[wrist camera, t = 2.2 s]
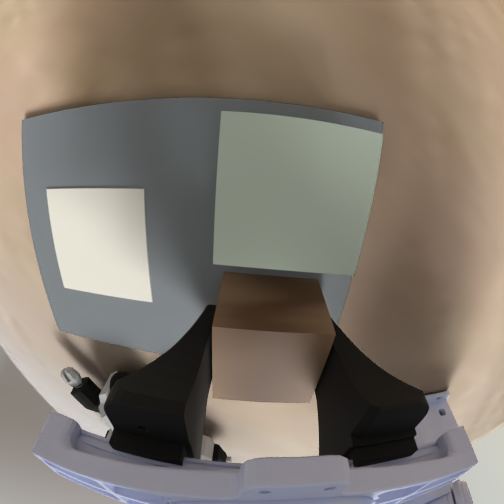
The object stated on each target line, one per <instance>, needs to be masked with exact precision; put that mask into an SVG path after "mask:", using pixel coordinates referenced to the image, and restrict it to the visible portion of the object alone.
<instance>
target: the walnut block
mask: <svg viewBox="0 0 504 504" xmlns="http://www.w3.org/2000/svg"><path fill="white" fill-rule="evenodd" d="M335 335H336V333H335V330H334V326H333V323H332V320H331V317H330V314H329V311H328V308H327V305H326V302H325V299H324V296H323V293H322V290H321V287H320V284H319V281H318V279H309V278H296V277H283V276H271V275H259V274H247V273H236V272H225V271H224V273H223V278H222V282H221V287H220V292H219V296H218V301H217V306H216V310H215V315H214V320H213V324H212V383H213V398H219V399H229V400H240V401H255V402H279V403H309V402H310V400H311V398H312V395H313V393H314V391H315V388H316V386H317V383H318V381H319V378H320V376H321V373H322V371H323V368H324V366H325V363H326V360H327V358H328V355H329V352H330V350H331V347H332V344H333V341H334V338H335Z"/></svg>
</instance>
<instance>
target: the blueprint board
mask: <svg viewBox="0 0 504 504" xmlns="http://www.w3.org/2000/svg"><path fill="white" fill-rule="evenodd" d="M221 111H233V112H248V113H260V114H271V115H280V116H288V117H296V118H303V119H310V120H316V121H322V122H328V123H333V124H339V125H344V126H349V127H354V128H358V129H363V130H367V131H372V132H376V133H380V134H382V128H383V122H381V121H377V120H373V119H369V118H365V117H361V116H356V115H352V114H347V113H342V112H337V111H332V110H327V109H321V108H315V107H309V106H302V105H295V104H287V103H279V102H270V101H259V100H247V99H230V98H160V99H143V100H131V101H121V102H112V103H104V104H97V105H90V106H84V107H78V108H72V109H67V110H62V111H57V112H52V113H48V114H44V115H40V116H36V117H32V118H28V119H24V120H22V160H23V176H24V186H25V196H26V203H27V211H28V217H29V223H30V229H31V234H32V239H33V244H34V249H35V253H36V257H37V261H38V265H39V269H40V273H41V277H42V280H43V284H44V287H45V291H46V294H47V297H48V300H49V303H50V306H51V309H52V312H53V315H54V318H55V321H56V323H57V326H58V329H59V331H63V332H66V333H70V334H74V335H77V336H81V337H85V338H89V339H93V340H97V341H101V342H106V343H110V344H114V345H119V346H124V347H129V348H134V349H139V350H144V351H150V352H155V353H161V354H164V353H165V352H166V351H168V350H169V349H170V348H171V347H172V346H173V345H175V344H176V343H177V342H178V341H179V340H180V339H181V338H182V337H183V336H184V334H185V333H186V332H187V331H188V330H189V329H190V328H191V327H192V325H193V324H194V323H195V322H196V320H197V319H198V318H199V316H200V315H201V314H202V312H203V311H204V309H205V307H206V306H207V305H209V304H210V305H217V301H218V296H219V292H220V287H221V282H222V278H223V273H224V271H225V272H236V273H247V274H259V275H271V276H283V277H296V278H309V279H318V281H319V284H320V287H321V290H322V293H323V296H324V299H325V302H326V305H327V308H328V311H329V314H330V317H331V318H332V319H333V321H334V322H335V323H336V324H337V325H338V322H339V319H340V316H341V313H342V310H343V307H344V303H345V300H346V297H347V293H348V290H349V287H350V283H351V280H352V275H338V274H325V273H312V272H299V271H287V270H275V269H263V268H251V267H240V266H228V265H217V264H213V248H214V221H215V199H216V180H217V163H218V148H219V134H220V121H221Z"/></svg>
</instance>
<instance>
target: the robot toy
mask: <svg viewBox="0 0 504 504" xmlns="http://www.w3.org/2000/svg"><path fill="white" fill-rule="evenodd" d="M127 375H129V373H127V372H123V371H122V372H118V371H116V372H113V373H111V374H110V376H109V378H108V380H107V382H106V383H105V385H104V387H103V389H102V391H101V390H100V389H99V388H98V387H97V386H96V385H95V384H94V383H93V381H92V380H91V379H90V378H89V377H85V378H81V376H80V374H79V373H78V372H77V371H76V370H75V369H73V368H71V367H67V368H66V369H63V370H62V371H61V377H62V378H63V380H64V381H65V383H67V384H69V385H70V386H72V387H73V390H72V392H71V394H72V395H73V396H74V397H75V398H76V399H77V400H78V401H79V402H80V403H81V404H82V405H83V406H84V407H85V408H87V409H89V410H92V411H95V412H99V413H100V414H101V417H102V419H103V420H104V421H105V422H106V424H107V425H108V426H109V427H110V430H108V431H107V434H106V436H105V438H108V439H110V438H111V435H112V432H113V429H114V427H113V426H112V424H111V422H110V421H109V419H108V417H107V415H106V414H105V411H104V409H103V408H104V404H105V401H106V399H107V397H108V395H109V392H110V390H111V389H112V387H113V386H114V384H115V382H116V381H117V380H118V379H120V378H123V377H125V376H127ZM201 460H208V461H217V462H227V463H231V462H232V460H231V457H227V455H226V453H225V452H224V451H223V449H222V448H221V447H220V445H217V444H214V443H213V440H212V438H210V437H208V436H206V435H204V434H203V439H202V448H201Z"/></svg>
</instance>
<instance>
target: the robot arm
mask: <svg viewBox="0 0 504 504" xmlns="http://www.w3.org/2000/svg"><path fill="white" fill-rule="evenodd" d="M216 306H217V305H210V304H209V305H207V306H206V307H205V309H204V311H203V312H202V314H201V315H200V316H199V318H198V319H197V320H196V322H195V323H194V324H193V325H192V327H191V328H190V329H189V330H188V331H187V332H186V333H185V334H184V336H183V337H182V338H181V339H180V340H179V341H178V342H177V343H176V344H175V345H173V346H172V347H171V348H170V349H169V350H168V351H166V352H165V353H164V354H163V355H161V356H160V357H159V358H157V359H156V360H154V361H153V362H151V363H150V364H148V365H146V366H145V367H143V368H141V369H140V370H138V371H136V372H134V373H132V374H129V375H127V376H125V377H123V378H120V379H118V380H117V381H116V382H115V384H114V386H113V387H112V389H111V390H110V392H109V395H108V397H107V399H106V401H105V404H104V408H103V409H104V411H105V414H106V415H107V417H108V419H109V421H110V422H111V424H112V426H113V427H114V429H113V432H112V435H111V438H110V439H108V438H105V437H102V436H99V435H96V434H93V433H90V432H87V431H85V430H82V429H81V427H80V425H79V424H78V423H77V422H76V421H75V420H73V419H71V418H69V417H67V416H64V415H62V414H60V413H57V412H55V411H51V413H50V415H49V417H48V419H47V421H46V423H45V425H44V427H43V429H42V431H41V433H40V435H39V437H38V439H37V441H36V443H35V445H34V448H33V450H32V452H33V453H34V454H35V455H36V456H37V457H38V458H39V459H40V460H41V461H43V462H44V463H45V464H46V465H47V466H48V467H50V468H51V469H52V470H53V471H55V472H56V473H57V474H59V475H61V476H63V477H65V478H67V479H69V480H71V481H73V482H75V483H77V484H80V485H82V486H84V487H87V488H89V489H91V490H93V491H96V492H98V493H101V494H103V495H105V496H108V497H110V498H113V499H116V500H118V501H121V502H124V503H127V504H473V501H472V498H471V495H470V492H469V489H468V486H467V483H466V482H464V481H460V480H457V481H455V482H453V483H452V481H453V480H455V479H456V478H458V477H459V476H461V475H462V474H464V473H465V472H466V471H468V470H469V469H470V468H472V467H473V466H474V465H476V464H477V463H478V460H477V458H476V455H475V454H474V450H473V448H472V446H471V443H470V441H469V438H468V436H467V434H466V431H465V429H464V427H463V426H460V427H458V425H457V422H456V420H455V418H454V416H453V414H452V411H451V409H450V407H449V405H448V403H447V401H446V399H447V398H448V397H449V395H450V393H449V391H444V392H440V393H435V394H430V395H424V393H423V391H421V390H419V389H417V388H415V387H412V386H410V385H408V384H406V383H404V382H402V381H400V380H399V379H397V378H395V377H393V376H392V375H390V374H389V373H387V372H386V371H384V370H383V369H381V368H380V367H379V366H377V365H376V364H375V363H374V362H372V361H371V360H370V359H369V358H368V357H366V356H365V355H364V354H363V353H362V352H361V351H360V350H359V349H358V348H357V347H356V346H355V345H354V344H353V343H352V342H351V341H350V340H349V338H348V337H347V336H346V335H345V334H344V333H343V332H342V330H341V329H340V328H339V327H338V326H337V324H336V323H335V322H334V321H333V319H332V318H331V320H332V323H333V326H334V330H335V333H336V335H335V338H334V341H333V344H332V347H331V350H330V352H329V355H328V358H327V360H326V363H325V366H324V368H323V371H322V373H321V376H320V378H319V381H318V383H317V386H316V388H315V394H316V399H317V408H318V422H319V456H308V457H266V458H255V459H251V460H247V461H246V462H245V463H243V464H240V463H227V462H217V461H208V460H201V448H202V439H203V430H204V421H205V413H206V405H207V398H208V393H209V388H210V385H211V381H212V324H213V320H214V315H215V310H216Z"/></svg>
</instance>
